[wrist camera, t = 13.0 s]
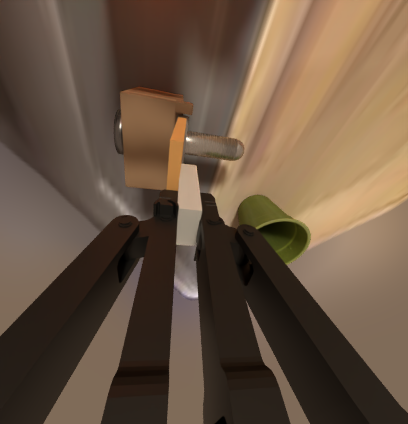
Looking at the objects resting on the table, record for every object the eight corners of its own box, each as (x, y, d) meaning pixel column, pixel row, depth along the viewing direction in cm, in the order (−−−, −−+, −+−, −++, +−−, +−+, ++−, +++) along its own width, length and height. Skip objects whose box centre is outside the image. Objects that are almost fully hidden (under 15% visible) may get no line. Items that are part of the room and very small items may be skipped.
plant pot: (257, 172, 35) (283, 205, 26) (291, 204, 41) (324, 241, 32) (214, 213, 40) (224, 253, 31) (250, 237, 45) (268, 278, 36)
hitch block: (138, 84, 26) (114, 90, 16) (188, 94, 27) (193, 105, 18) (139, 158, 32) (122, 195, 22) (180, 163, 33) (181, 200, 23)
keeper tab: (166, 139, 11) (186, 142, 12) (177, 114, 19) (189, 116, 19) (160, 237, 16) (174, 238, 16) (170, 184, 24) (180, 185, 24)
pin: (123, 106, 25) (112, 113, 21) (243, 128, 28) (255, 137, 24) (125, 146, 28) (115, 159, 24) (234, 162, 31) (243, 175, 27)
